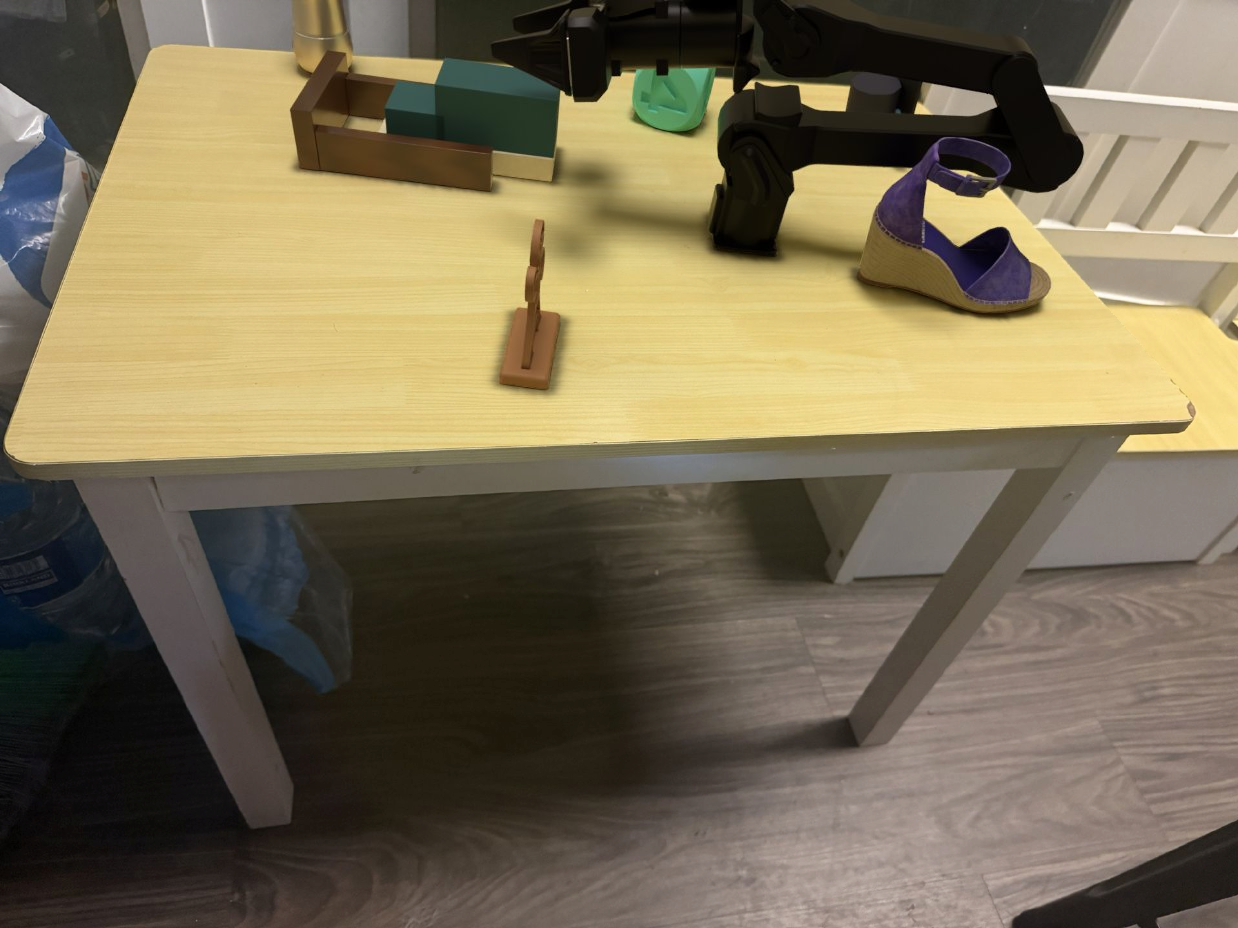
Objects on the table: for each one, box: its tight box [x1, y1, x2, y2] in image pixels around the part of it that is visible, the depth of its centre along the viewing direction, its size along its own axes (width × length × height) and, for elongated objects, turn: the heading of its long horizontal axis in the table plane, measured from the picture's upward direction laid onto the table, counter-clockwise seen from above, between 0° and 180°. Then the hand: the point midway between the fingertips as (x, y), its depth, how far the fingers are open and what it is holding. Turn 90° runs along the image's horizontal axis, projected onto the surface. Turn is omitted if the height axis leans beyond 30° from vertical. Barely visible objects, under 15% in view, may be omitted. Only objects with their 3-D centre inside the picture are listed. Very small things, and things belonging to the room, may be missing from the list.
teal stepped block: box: [378, 57, 562, 183], centre depth 85 cm, size 18×7×8 cm, turn 89°
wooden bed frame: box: [289, 50, 494, 192], centre depth 85 cm, size 19×14×6 cm
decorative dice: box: [631, 68, 717, 132], centre depth 97 cm, size 8×8×8 cm
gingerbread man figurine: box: [499, 218, 561, 390], centre depth 63 cm, size 9×4×12 cm, turn 176°
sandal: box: [857, 137, 1052, 314], centre depth 76 cm, size 8×20×15 cm, turn 81°
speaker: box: [845, 72, 924, 114], centre depth 97 cm, size 8×6×10 cm
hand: (502, 36), depth 72 cm, fingers open, 9 cm apart
